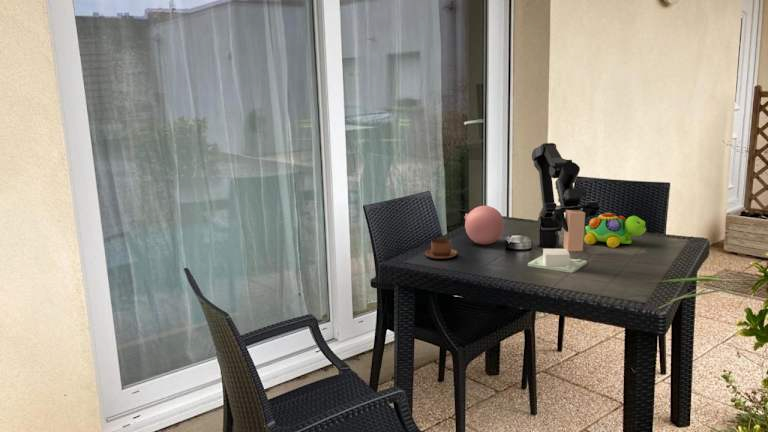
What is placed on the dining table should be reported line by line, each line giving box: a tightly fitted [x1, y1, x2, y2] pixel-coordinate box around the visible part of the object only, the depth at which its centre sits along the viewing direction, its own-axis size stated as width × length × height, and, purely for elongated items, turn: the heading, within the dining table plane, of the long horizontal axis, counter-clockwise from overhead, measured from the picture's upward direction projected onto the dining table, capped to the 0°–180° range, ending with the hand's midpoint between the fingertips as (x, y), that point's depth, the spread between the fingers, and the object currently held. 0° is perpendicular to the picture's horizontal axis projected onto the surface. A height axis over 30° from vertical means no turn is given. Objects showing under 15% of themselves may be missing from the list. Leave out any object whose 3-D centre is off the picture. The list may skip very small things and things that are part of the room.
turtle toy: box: [583, 212, 647, 249], centre depth 246 cm, size 17×23×12 cm
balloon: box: [463, 205, 505, 246], centre depth 253 cm, size 15×20×15 cm
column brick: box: [563, 210, 586, 252], centre depth 212 cm, size 5×5×13 cm
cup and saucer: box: [424, 238, 458, 260], centre depth 236 cm, size 12×12×6 cm
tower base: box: [527, 248, 588, 274], centre depth 220 cm, size 16×13×5 cm
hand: (575, 230), depth 211 cm, fingers closed on column brick, 5 cm apart
